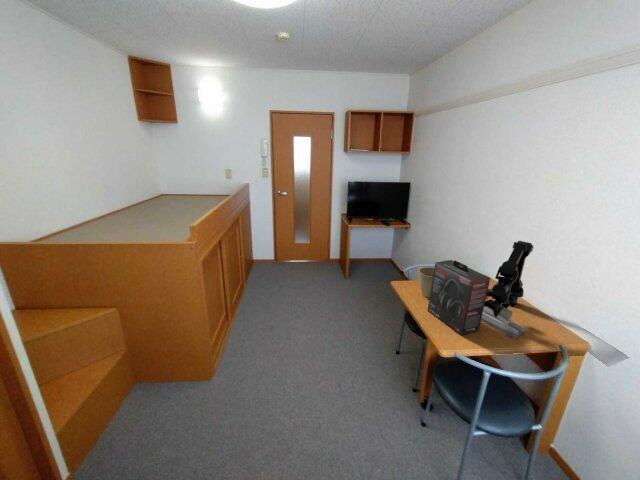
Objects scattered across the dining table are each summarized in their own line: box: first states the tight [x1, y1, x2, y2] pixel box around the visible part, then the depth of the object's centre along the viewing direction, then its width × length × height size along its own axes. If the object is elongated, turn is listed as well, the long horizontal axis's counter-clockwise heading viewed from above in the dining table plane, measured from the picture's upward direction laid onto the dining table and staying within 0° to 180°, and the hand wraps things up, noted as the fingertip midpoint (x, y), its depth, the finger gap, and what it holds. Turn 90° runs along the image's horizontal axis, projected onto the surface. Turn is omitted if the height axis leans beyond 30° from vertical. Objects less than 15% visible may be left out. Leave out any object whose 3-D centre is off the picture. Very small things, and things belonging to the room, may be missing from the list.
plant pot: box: [418, 266, 434, 299], centre depth 175 cm, size 15×15×16 cm
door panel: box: [484, 306, 514, 325], centre depth 149 cm, size 3×12×7 cm, turn 28°
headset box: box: [427, 259, 491, 336], centre depth 147 cm, size 24×13×33 cm, turn 21°
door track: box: [481, 307, 526, 339], centre depth 150 cm, size 10×24×4 cm, turn 28°
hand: (497, 315), depth 149 cm, fingers closed on door panel, 3 cm apart
